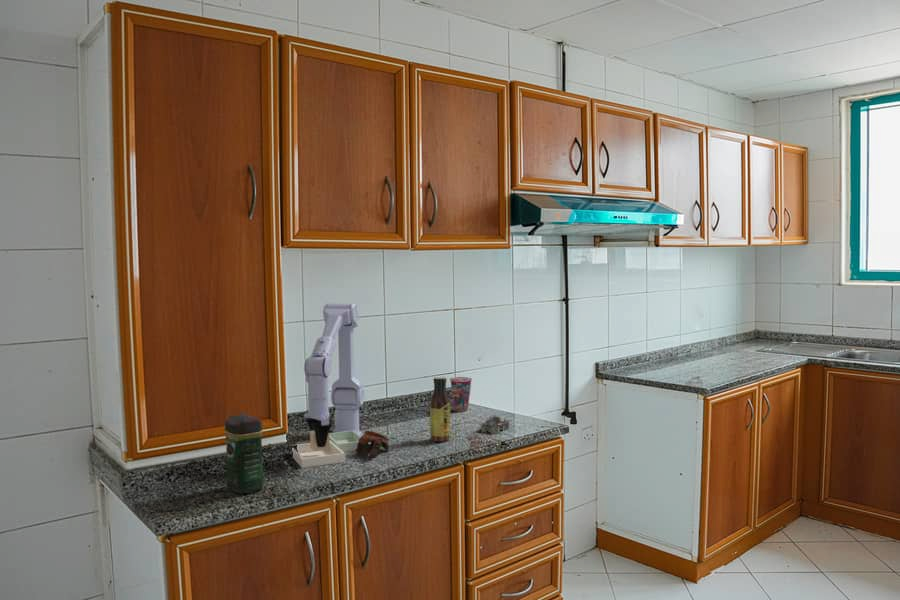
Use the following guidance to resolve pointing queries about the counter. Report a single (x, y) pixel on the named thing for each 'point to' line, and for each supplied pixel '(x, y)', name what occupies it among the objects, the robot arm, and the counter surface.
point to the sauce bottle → (440, 412)
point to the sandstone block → (314, 445)
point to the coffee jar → (243, 454)
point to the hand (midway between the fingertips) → (319, 444)
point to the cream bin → (317, 455)
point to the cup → (460, 393)
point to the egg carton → (494, 424)
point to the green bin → (345, 440)
